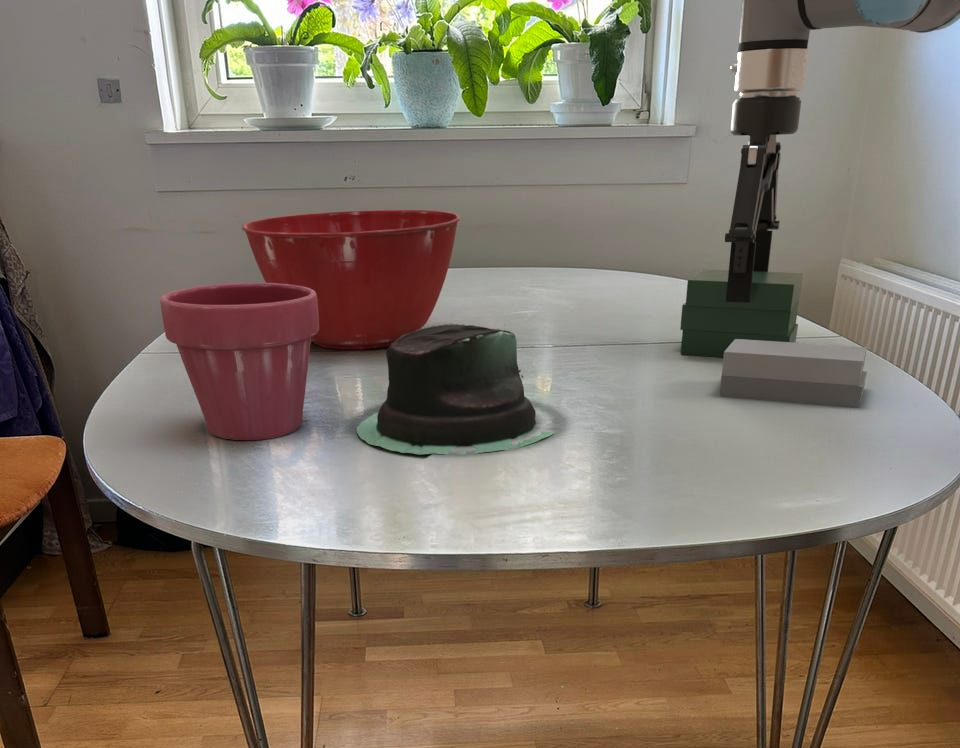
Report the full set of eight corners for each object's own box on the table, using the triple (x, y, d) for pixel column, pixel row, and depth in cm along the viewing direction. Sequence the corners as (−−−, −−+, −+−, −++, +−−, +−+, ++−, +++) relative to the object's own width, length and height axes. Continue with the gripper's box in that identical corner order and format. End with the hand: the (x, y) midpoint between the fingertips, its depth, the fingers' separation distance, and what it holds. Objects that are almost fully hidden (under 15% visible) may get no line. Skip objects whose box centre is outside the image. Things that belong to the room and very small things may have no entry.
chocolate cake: (431, 381, 105) (597, 407, 97) (349, 504, 98) (522, 544, 89) (390, 264, 93) (575, 282, 85) (293, 393, 86) (486, 427, 77)
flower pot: (337, 407, 100) (325, 279, 94) (317, 447, 88) (303, 304, 82) (203, 409, 100) (182, 282, 94) (164, 450, 88) (138, 306, 82)
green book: (799, 298, 120) (803, 273, 118) (790, 311, 112) (794, 284, 111) (700, 293, 124) (703, 269, 122) (685, 305, 116) (687, 279, 115)
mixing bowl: (255, 369, 116) (238, 233, 109) (257, 325, 141) (243, 212, 133) (480, 355, 121) (478, 224, 113) (444, 315, 145) (440, 205, 138)
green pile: (794, 347, 122) (801, 299, 119) (786, 361, 115) (793, 310, 112) (691, 341, 127) (696, 294, 124) (678, 354, 120) (682, 304, 117)
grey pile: (862, 394, 101) (871, 347, 99) (858, 411, 96) (867, 361, 93) (730, 384, 106) (735, 338, 104) (718, 399, 100) (723, 351, 98)
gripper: (750, 98, 119) (733, 278, 129) (713, 94, 98) (696, 308, 108) (813, 96, 116) (790, 279, 126) (788, 92, 96) (763, 310, 106)
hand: (747, 293), depth 117 cm, fingers open, 13 cm apart
